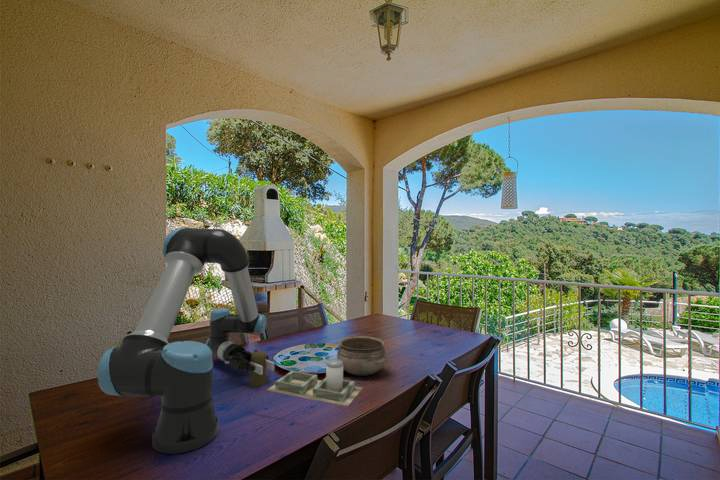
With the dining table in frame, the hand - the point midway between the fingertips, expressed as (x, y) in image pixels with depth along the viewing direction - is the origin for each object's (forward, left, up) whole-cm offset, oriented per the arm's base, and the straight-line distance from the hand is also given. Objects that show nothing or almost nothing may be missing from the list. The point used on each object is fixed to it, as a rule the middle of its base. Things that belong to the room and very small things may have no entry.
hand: (267, 368), depth 117 cm
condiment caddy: (+3, -17, -7) cm, 18 cm away
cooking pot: (+24, -26, -7) cm, 36 cm away
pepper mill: (+2, +5, -7) cm, 9 cm away
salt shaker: (+3, -24, -5) cm, 25 cm away
